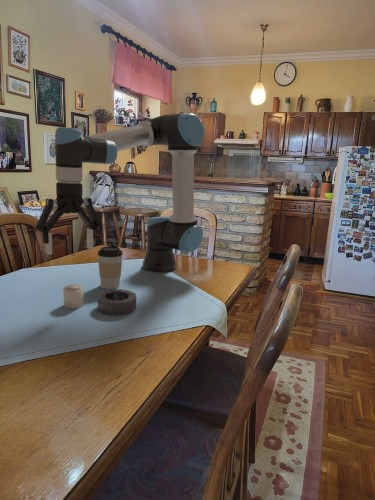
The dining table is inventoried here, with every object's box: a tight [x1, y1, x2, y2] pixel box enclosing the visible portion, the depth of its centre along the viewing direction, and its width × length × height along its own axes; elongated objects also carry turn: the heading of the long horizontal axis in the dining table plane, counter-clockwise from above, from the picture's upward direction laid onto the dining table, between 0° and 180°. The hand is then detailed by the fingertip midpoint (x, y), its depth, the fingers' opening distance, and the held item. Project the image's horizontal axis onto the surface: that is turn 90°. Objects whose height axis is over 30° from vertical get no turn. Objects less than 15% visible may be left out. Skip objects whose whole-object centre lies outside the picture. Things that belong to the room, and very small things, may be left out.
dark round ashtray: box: [97, 288, 137, 316], centre depth 114 cm, size 12×12×4 cm
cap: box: [62, 284, 84, 310], centre depth 114 cm, size 6×6×6 cm
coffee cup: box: [97, 245, 123, 290], centre depth 133 cm, size 9×9×15 cm
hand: (70, 251), depth 111 cm, fingers open, 13 cm apart
